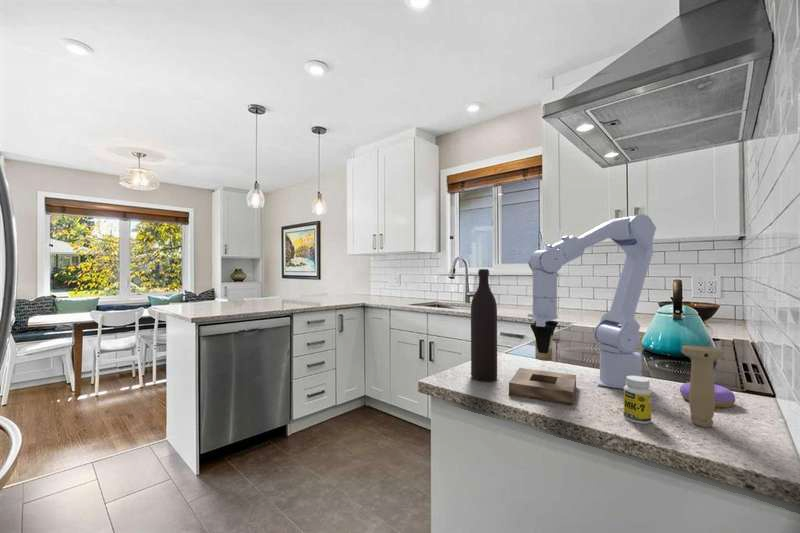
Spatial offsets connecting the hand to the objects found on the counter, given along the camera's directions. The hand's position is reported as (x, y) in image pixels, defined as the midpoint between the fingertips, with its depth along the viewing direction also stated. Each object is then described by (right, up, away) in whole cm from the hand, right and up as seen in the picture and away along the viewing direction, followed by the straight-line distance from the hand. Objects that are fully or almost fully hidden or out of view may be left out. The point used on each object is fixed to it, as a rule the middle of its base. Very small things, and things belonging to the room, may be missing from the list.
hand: (544, 350), depth 95 cm
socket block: (-1, -10, -2) cm, 10 cm away
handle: (+23, -10, -21) cm, 33 cm away
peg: (0, -2, 0) cm, 2 cm away
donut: (+34, -10, -9) cm, 36 cm away
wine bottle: (-13, -10, +9) cm, 18 cm away
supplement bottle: (+12, -10, -19) cm, 24 cm away
